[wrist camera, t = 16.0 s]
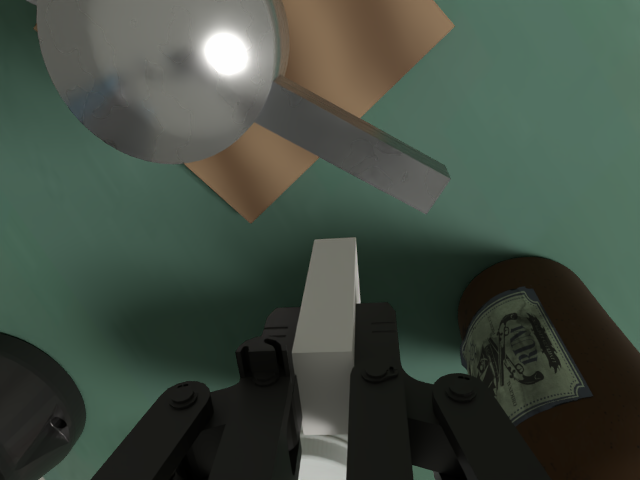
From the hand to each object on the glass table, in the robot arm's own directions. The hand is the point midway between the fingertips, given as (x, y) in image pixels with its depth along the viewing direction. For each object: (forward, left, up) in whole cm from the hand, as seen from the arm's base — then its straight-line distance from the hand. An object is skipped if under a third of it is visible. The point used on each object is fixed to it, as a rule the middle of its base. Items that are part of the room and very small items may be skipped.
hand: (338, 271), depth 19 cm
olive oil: (0, -18, -17) cm, 25 cm away
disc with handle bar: (0, +11, -7) cm, 13 cm away
